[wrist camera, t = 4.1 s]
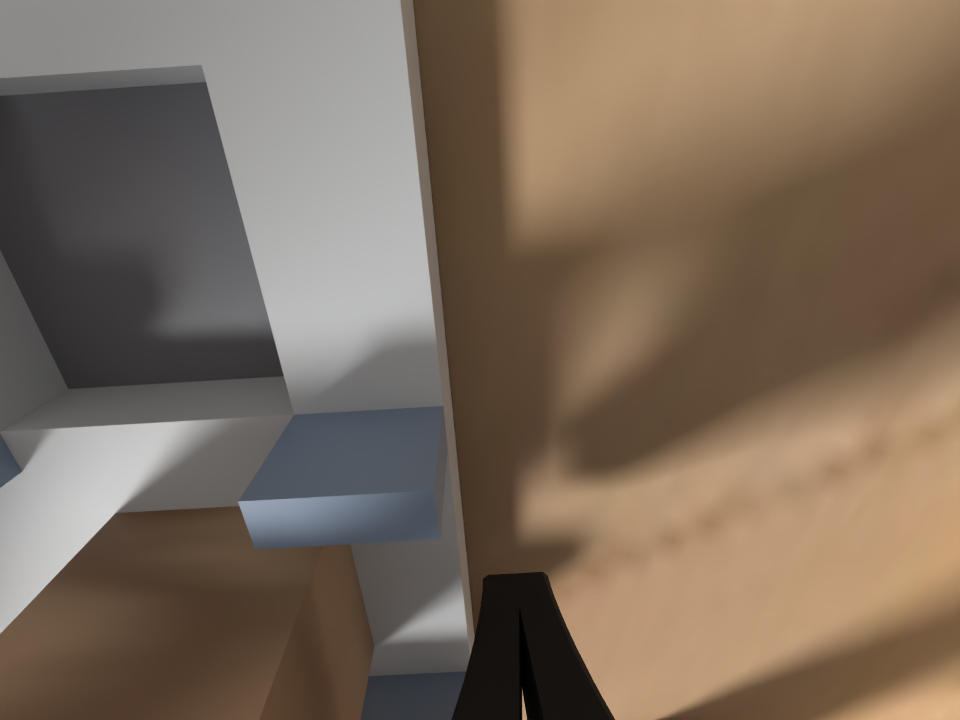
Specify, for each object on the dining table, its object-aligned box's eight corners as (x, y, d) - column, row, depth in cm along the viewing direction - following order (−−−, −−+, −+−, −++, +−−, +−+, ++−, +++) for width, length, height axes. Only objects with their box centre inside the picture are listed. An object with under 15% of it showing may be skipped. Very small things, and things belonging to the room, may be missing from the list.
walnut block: (187, 656, 13) (28, 947, 8) (115, 513, 10) (-158, 798, 6) (374, 646, 13) (319, 934, 8) (339, 500, 10) (236, 778, 6)
